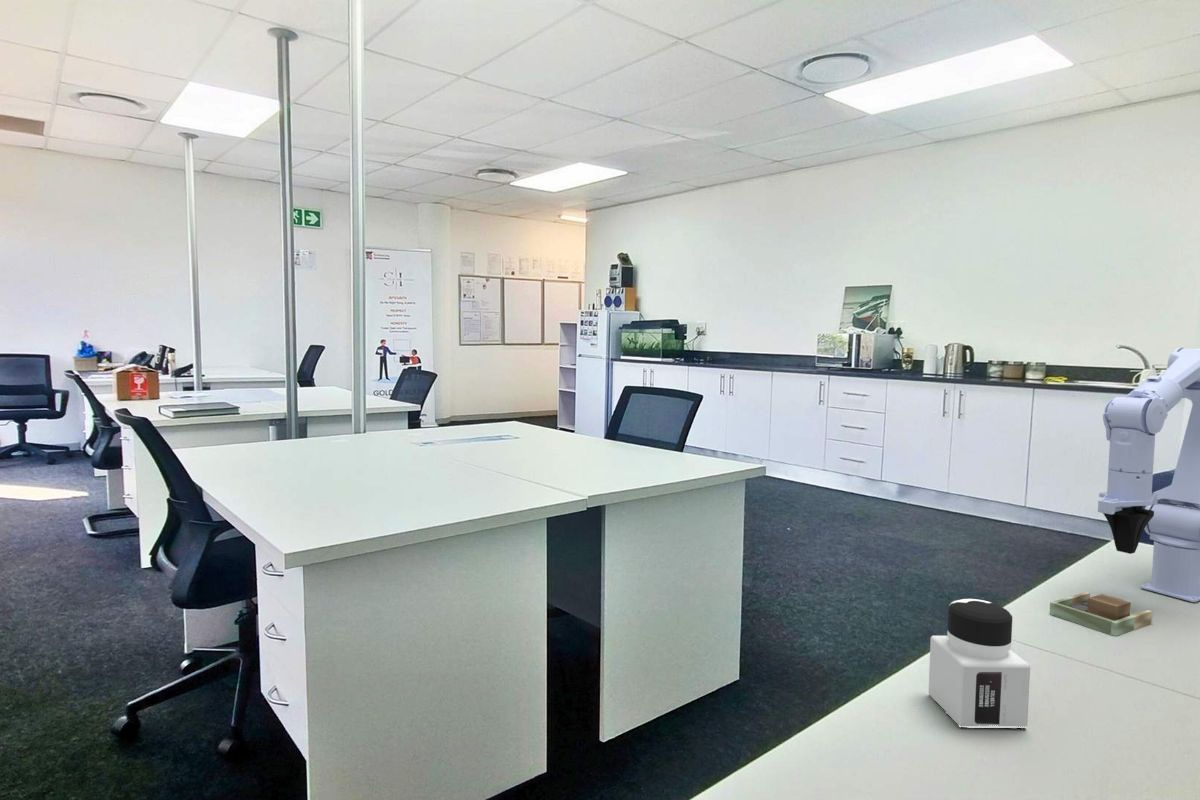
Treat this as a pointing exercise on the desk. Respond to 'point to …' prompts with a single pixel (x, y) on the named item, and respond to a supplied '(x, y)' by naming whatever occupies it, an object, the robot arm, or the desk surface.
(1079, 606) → the tiles
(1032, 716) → the desk surface
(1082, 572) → the desk surface
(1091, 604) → the block
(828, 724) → the desk surface
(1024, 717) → the container
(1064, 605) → the green beige u-shaped frame
